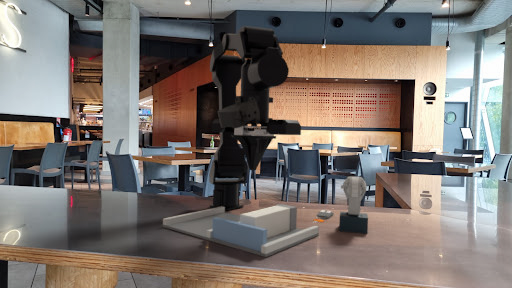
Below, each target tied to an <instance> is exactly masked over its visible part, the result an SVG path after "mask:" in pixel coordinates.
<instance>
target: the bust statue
mask: <svg viewBox="0 0 512 288" xmlns="http://www.w3.org/2000/svg"><path fill="white" fill-rule="evenodd" d="M367 187H368V186H367V183H366V181H365V180H364V178H363V177H361V176H351V175H350V176H347V178H345V180H344V181H343V183H342V184H340V189H342V190H343V192H344V195H345V198H346V200H348V203H347V204H348V206H347V211H341V210H340V212H339V227H338V228H339V229H338V231H339V232H348V233H359V234H365V235H366V234H368V233H369V232H368V231H369V230H368V228H369V216H368V213H366V212H365V213H364V212H361V201H362V200H363V198H364V195H365V194H366V192H367Z"/></svg>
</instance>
